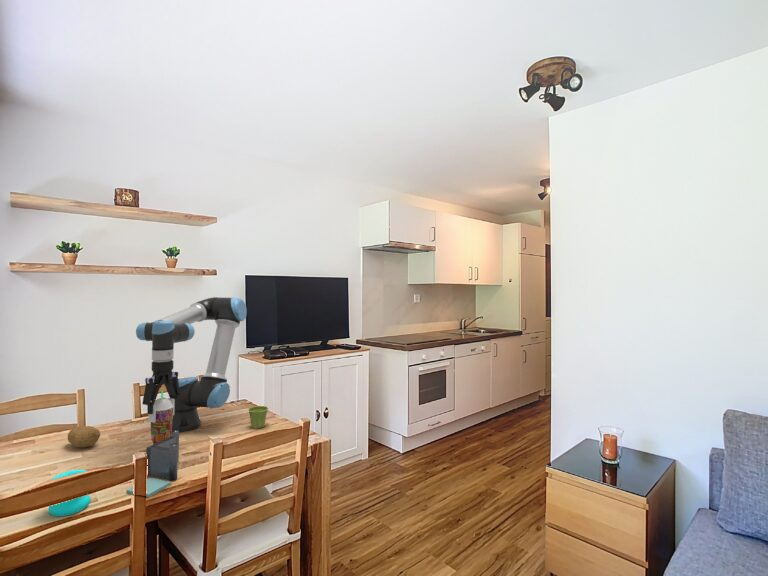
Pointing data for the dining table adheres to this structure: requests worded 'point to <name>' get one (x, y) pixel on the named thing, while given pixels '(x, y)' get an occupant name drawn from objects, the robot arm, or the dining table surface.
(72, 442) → the potato
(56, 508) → the teal ball
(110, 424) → the dining table surface
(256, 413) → the plant pot
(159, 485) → the pad
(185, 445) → the dining table surface
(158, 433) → the smoothie
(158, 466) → the magazine holder
